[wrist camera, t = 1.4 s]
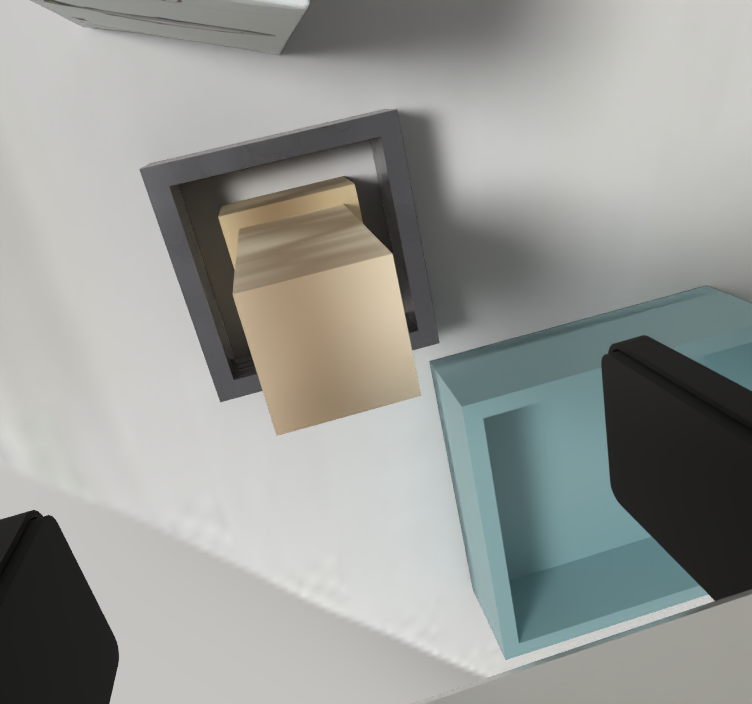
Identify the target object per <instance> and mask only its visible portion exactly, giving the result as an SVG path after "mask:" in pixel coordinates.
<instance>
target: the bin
mask: <svg viewBox="0 0 752 704" xmlns="http://www.w3.org/2000/svg"><path fill="white" fill-rule="evenodd" d="M642 335H646V336H649V337H651V338H653V339H655V340H656V341H658V342H660V343H662V344H664V345H666V346H668V347H670V348H672V349H673V350H675V351H677V352H679V353H681V354H683V355H685V356H687V357H689V358H690V359H692V360H694V361H696V362H698V363H700V364H702V365H704V366H706V367H707V368H709V369H711V370H713V371H715V372H717V373H719V374H721V375H722V376H724V377H726V378H728V379H730V380H732V381H734V382H736V383H738V384H739V385H741V386H743V387H745V388H747V389H749V390H751V391H752V303H750V302H748V301H745V300H742V299H740V298H737V297H735V296H732V295H729V294H727V293H724V292H722V291H719V290H716V289H714V288H711V287H709V286H704V287H700V288H697V289H693V290H689V291H686V292H682V293H678V294H675V295H671V296H667V297H664V298H660V299H656V300H653V301H649V302H645V303H642V304H638V305H634V306H631V307H627V308H623V309H620V310H616V311H612V312H609V313H605V314H601V315H598V316H594V317H590V318H587V319H583V320H579V321H576V322H572V323H568V324H565V325H561V326H557V327H554V328H550V329H546V330H543V331H539V332H535V333H532V334H528V335H524V336H521V337H517V338H513V339H510V340H506V341H502V342H499V343H495V344H491V345H488V346H484V347H480V348H477V349H473V350H469V351H466V352H462V353H458V354H455V355H451V356H447V357H444V358H440V359H436V360H433V361H429V362H430V367H431V372H432V377H433V383H434V388H435V393H436V398H437V404H438V409H439V414H440V419H441V425H442V430H443V435H444V440H445V446H446V451H447V456H448V461H449V467H450V472H451V477H452V482H453V488H454V493H455V498H456V503H457V509H458V514H459V519H460V524H461V529H462V535H463V540H464V545H465V550H466V556H467V561H468V566H469V571H470V577H471V582H472V587H473V591H474V593H475V595H476V597H477V599H478V601H479V603H480V606H481V608H482V610H483V612H484V614H485V616H486V618H487V621H488V623H489V625H490V627H491V629H492V631H493V634H494V636H495V638H496V640H497V642H498V644H499V646H500V649H501V651H502V653H503V655H504V657H505V659H506V660H507V659H510V658H513V657H516V656H519V655H523V654H526V653H529V652H532V651H535V650H538V649H541V648H544V647H547V646H550V645H553V644H557V643H560V642H563V641H566V640H569V639H572V638H575V637H578V636H581V635H584V634H587V633H590V632H594V631H597V630H600V629H603V628H606V627H609V626H612V625H615V624H618V623H621V622H624V621H628V620H631V619H634V618H637V617H640V616H643V615H646V614H649V613H652V612H655V611H658V610H662V609H665V608H668V607H671V606H674V605H677V604H680V603H683V602H686V601H689V600H692V599H696V598H699V597H702V596H705V595H708V593H707V592H706V591H705V590H704V589H703V588H702V587H701V586H700V585H699V584H698V583H697V582H696V581H695V580H694V579H693V578H692V577H691V576H690V575H689V574H688V573H687V572H686V571H685V570H684V569H683V568H682V567H681V566H680V565H679V564H678V563H677V562H676V561H675V560H674V559H673V558H672V557H671V556H670V555H669V554H668V553H667V552H666V551H665V550H664V549H663V548H662V547H661V546H660V545H659V544H658V543H657V541H656V540H655V539H654V538H653V537H652V536H651V535H650V534H649V533H648V532H647V531H646V530H645V529H644V528H643V527H642V526H641V525H640V524H639V523H638V522H637V521H636V520H635V519H634V518H633V517H632V516H631V515H630V514H629V513H628V512H627V511H626V510H625V509H624V508H623V507H622V506H621V505H620V504H619V503H618V501H617V500H616V498H615V496H614V494H613V492H612V489H611V484H610V474H609V461H608V448H607V435H606V422H605V408H604V395H603V382H602V369H601V360H602V357H603V356H604V355H605V354H608V351H609V348H610V346H611V345H612V344H614V343H617V342H621V341H624V340H628V339H631V338H635V337H638V336H642Z"/></svg>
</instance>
